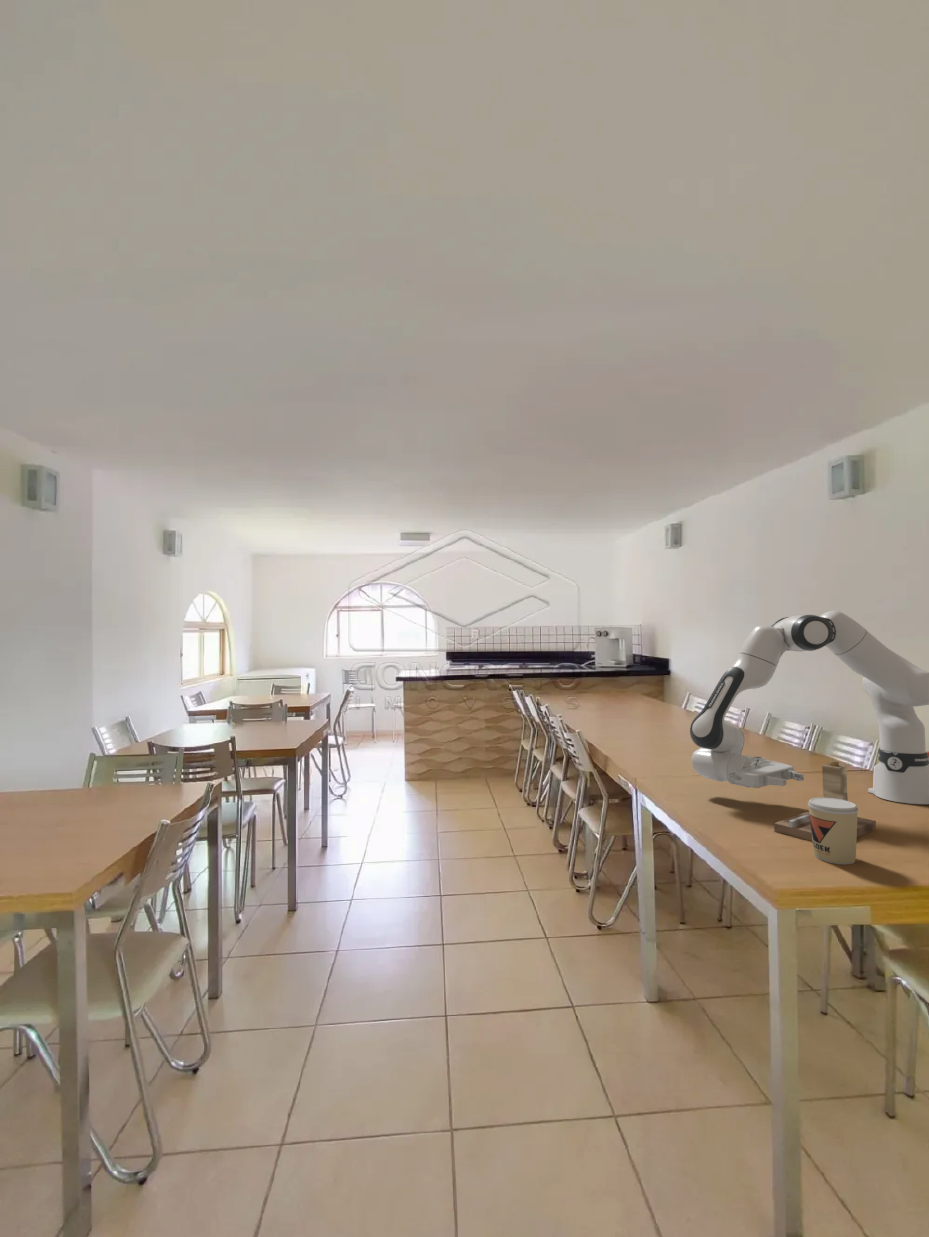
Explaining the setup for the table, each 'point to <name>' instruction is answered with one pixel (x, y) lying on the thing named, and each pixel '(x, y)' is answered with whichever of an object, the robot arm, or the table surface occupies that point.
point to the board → (802, 826)
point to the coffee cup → (833, 829)
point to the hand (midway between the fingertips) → (793, 780)
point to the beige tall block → (834, 781)
